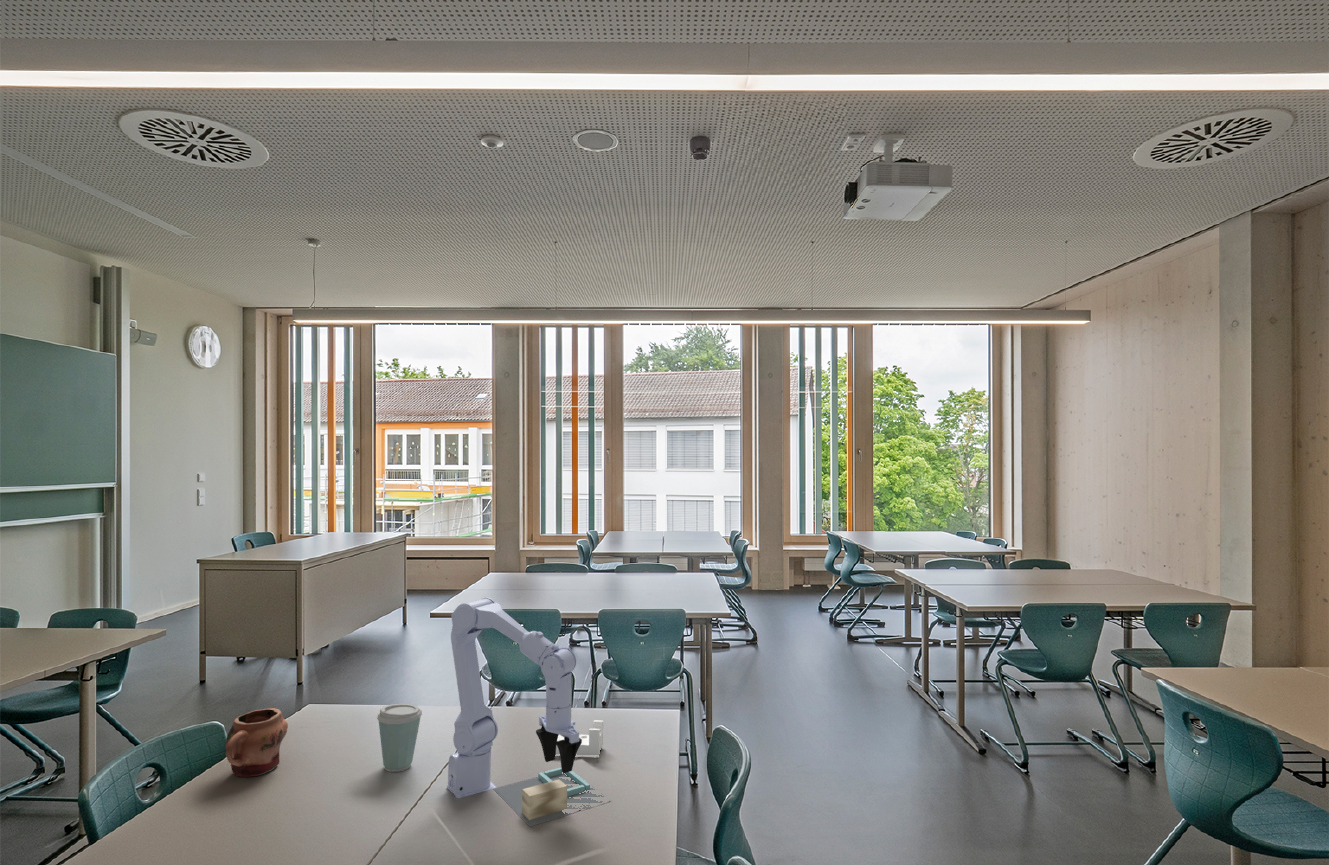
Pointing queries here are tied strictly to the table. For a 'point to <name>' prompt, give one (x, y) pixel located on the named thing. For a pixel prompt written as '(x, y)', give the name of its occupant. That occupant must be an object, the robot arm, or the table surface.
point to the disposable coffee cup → (398, 735)
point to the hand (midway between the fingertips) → (558, 766)
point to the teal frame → (571, 791)
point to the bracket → (589, 740)
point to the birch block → (544, 799)
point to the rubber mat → (514, 791)
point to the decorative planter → (255, 742)
